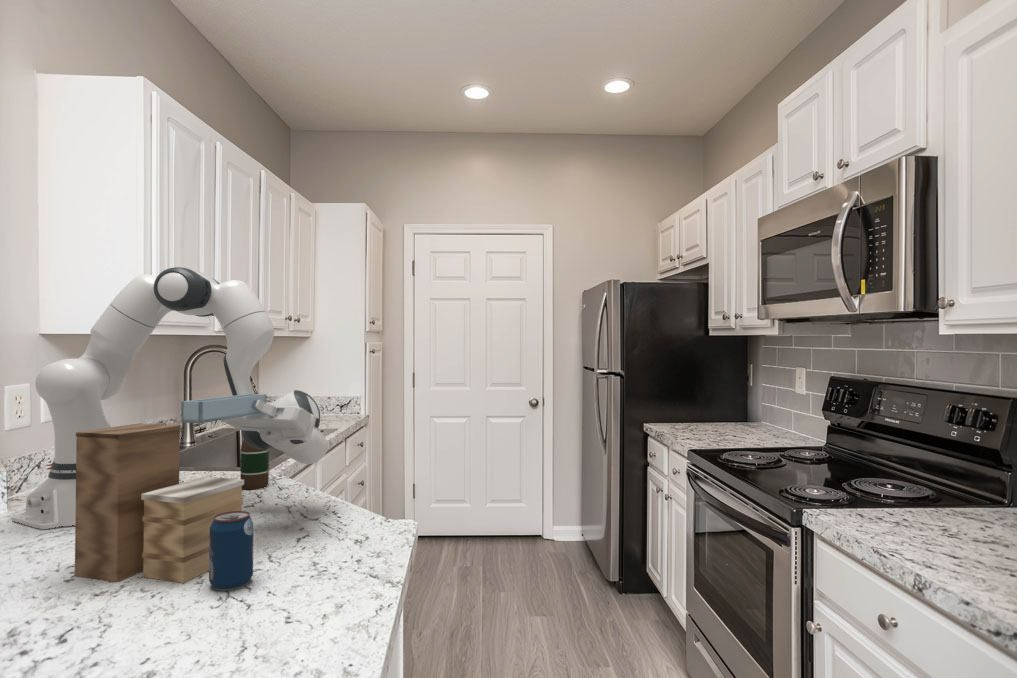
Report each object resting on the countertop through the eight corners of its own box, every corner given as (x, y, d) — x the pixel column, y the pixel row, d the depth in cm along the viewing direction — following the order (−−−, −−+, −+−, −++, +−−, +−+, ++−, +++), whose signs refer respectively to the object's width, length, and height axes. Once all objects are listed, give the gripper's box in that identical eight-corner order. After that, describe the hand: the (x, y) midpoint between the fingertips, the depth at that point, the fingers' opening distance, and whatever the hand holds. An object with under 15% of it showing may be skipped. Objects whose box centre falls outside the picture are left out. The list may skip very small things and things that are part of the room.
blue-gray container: (181, 422, 108) (181, 401, 108) (249, 412, 126) (249, 393, 126) (200, 423, 107) (200, 401, 107) (266, 412, 124) (266, 394, 124)
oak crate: (140, 577, 103) (141, 493, 103) (204, 550, 117) (205, 476, 117) (183, 583, 100) (183, 497, 100) (243, 555, 114) (244, 479, 114)
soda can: (261, 579, 102) (262, 511, 102) (231, 594, 96) (231, 522, 96) (231, 574, 104) (231, 508, 105) (199, 589, 98) (200, 518, 98)
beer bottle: (258, 491, 166) (258, 408, 166) (234, 489, 167) (235, 407, 168) (274, 484, 174) (274, 405, 174) (251, 483, 175) (251, 405, 176)
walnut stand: (73, 575, 104) (75, 432, 104) (138, 551, 116) (139, 423, 117) (117, 582, 101) (119, 434, 101) (179, 556, 113) (180, 425, 114)
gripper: (248, 414, 137) (209, 388, 125) (322, 416, 131) (289, 390, 120) (238, 439, 134) (197, 415, 122) (314, 442, 128) (279, 418, 117)
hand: (243, 403), depth 121 cm, fingers closed on blue-gray container, 4 cm apart
